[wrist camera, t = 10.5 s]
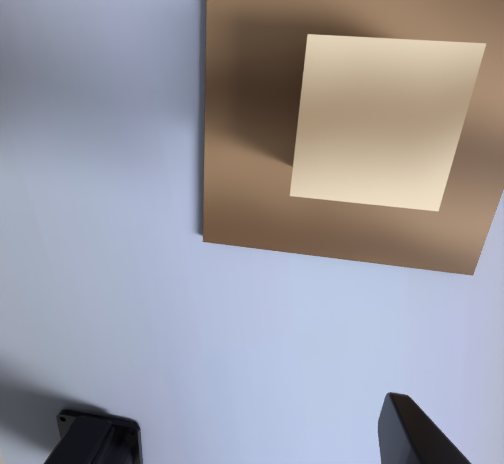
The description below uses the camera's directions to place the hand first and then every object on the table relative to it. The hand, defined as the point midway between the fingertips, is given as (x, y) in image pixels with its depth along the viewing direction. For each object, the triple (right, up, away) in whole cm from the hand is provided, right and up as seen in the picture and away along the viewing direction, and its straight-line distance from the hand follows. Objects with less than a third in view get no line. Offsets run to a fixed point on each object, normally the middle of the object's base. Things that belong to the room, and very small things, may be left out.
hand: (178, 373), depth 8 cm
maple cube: (+6, +8, +8) cm, 13 cm away
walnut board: (+6, +8, +8) cm, 14 cm away
